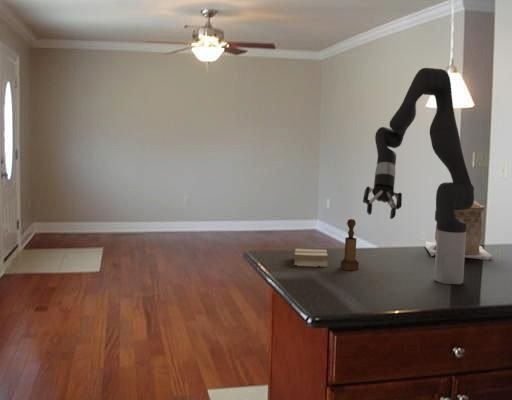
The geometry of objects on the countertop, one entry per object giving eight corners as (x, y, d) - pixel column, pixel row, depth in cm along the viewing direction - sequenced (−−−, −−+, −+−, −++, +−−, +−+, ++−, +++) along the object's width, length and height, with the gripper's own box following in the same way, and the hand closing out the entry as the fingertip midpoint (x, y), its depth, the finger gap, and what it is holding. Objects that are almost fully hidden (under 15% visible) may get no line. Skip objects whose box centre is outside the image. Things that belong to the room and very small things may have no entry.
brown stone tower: (493, 261, 228) (499, 180, 224) (428, 257, 233) (433, 177, 229) (482, 249, 252) (487, 175, 249) (423, 245, 257) (427, 173, 253)
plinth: (327, 266, 212) (327, 256, 211) (294, 265, 213) (294, 254, 212) (326, 259, 224) (326, 249, 223) (295, 258, 225) (295, 248, 224)
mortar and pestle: (359, 270, 207) (362, 220, 205) (341, 270, 207) (343, 220, 205) (357, 266, 213) (359, 218, 211) (339, 266, 213) (341, 217, 211)
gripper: (369, 169, 219) (365, 210, 214) (406, 176, 220) (402, 217, 215) (364, 176, 226) (359, 215, 221) (399, 182, 227) (396, 222, 222)
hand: (380, 216), depth 218 cm, fingers open, 8 cm apart
